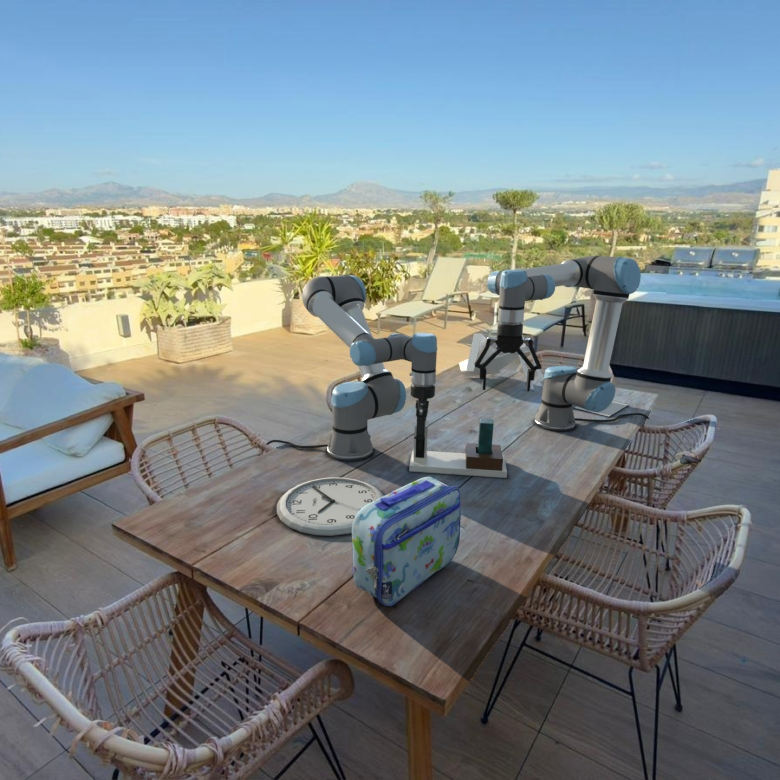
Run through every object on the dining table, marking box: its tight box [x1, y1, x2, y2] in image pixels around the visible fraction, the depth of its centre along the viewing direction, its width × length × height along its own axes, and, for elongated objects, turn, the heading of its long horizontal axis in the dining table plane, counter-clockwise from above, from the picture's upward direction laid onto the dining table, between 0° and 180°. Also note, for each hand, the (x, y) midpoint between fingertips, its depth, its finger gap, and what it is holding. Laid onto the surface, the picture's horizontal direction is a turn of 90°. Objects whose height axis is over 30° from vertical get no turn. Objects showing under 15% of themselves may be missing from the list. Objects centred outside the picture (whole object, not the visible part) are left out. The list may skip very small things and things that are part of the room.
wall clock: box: [276, 476, 385, 537], centre depth 142 cm, size 30×2×30 cm
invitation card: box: [573, 400, 629, 418], centre depth 226 cm, size 21×1×15 cm
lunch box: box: [351, 476, 462, 607], centre depth 111 cm, size 26×11×21 cm, turn 135°
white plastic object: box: [458, 333, 544, 391], centre depth 259 cm, size 37×45×31 cm
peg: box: [477, 418, 495, 454], centre depth 164 cm, size 4×4×14 cm
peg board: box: [408, 419, 508, 479], centre depth 165 cm, size 30×12×14 cm, turn 83°
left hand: (420, 452), depth 168 cm, fingers closed on peg board, 6 cm apart
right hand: (505, 389), depth 164 cm, fingers open, 13 cm apart
